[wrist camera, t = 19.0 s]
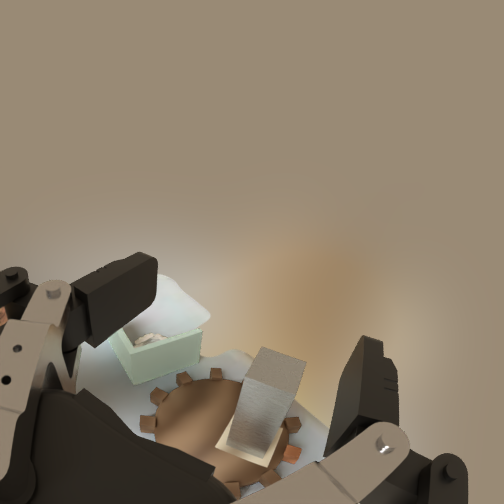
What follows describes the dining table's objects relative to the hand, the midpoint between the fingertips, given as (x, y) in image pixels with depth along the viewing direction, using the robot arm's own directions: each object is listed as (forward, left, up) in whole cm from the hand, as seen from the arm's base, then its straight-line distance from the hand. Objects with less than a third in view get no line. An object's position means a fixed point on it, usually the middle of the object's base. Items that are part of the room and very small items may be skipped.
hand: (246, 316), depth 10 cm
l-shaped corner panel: (-20, +21, -31) cm, 42 cm away
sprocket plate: (-3, +13, -30) cm, 33 cm away
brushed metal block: (+1, +13, -28) cm, 31 cm away
